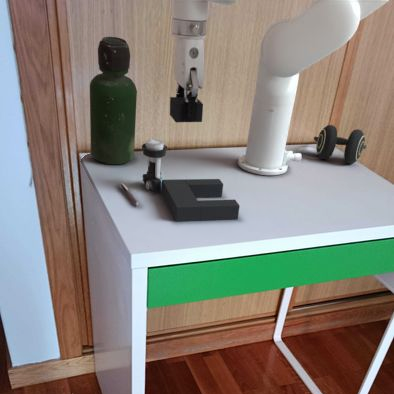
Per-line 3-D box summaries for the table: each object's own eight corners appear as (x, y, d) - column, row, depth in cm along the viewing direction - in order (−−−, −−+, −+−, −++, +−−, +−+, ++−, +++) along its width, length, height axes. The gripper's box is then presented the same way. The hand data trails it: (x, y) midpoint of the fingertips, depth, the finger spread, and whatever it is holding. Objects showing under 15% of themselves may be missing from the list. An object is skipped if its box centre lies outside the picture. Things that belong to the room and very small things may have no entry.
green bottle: (136, 149, 126) (141, 37, 108) (130, 168, 119) (135, 52, 101) (95, 143, 125) (93, 29, 108) (86, 162, 118) (84, 43, 100)
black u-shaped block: (217, 191, 112) (219, 178, 110) (237, 219, 102) (239, 205, 100) (161, 193, 109) (161, 179, 107) (175, 221, 98) (176, 207, 96)
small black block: (195, 114, 124) (196, 96, 122) (202, 122, 119) (203, 104, 117) (169, 114, 123) (170, 97, 120) (175, 122, 118) (176, 104, 115)
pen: (119, 186, 109) (119, 181, 108) (122, 185, 109) (122, 181, 109) (136, 207, 101) (136, 202, 101) (140, 207, 102) (140, 202, 101)
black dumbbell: (308, 158, 133) (310, 152, 150) (364, 167, 131) (360, 160, 148) (316, 123, 129) (318, 121, 146) (374, 132, 127) (369, 129, 144)
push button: (133, 184, 111) (133, 137, 105) (152, 180, 114) (154, 134, 107) (150, 195, 107) (151, 147, 101) (170, 190, 110) (172, 144, 104)
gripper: (217, 35, 104) (210, 126, 115) (195, 23, 116) (191, 106, 128) (182, 34, 102) (179, 126, 113) (164, 22, 115) (163, 106, 126)
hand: (185, 115), depth 121 cm, fingers closed on small black block, 6 cm apart
